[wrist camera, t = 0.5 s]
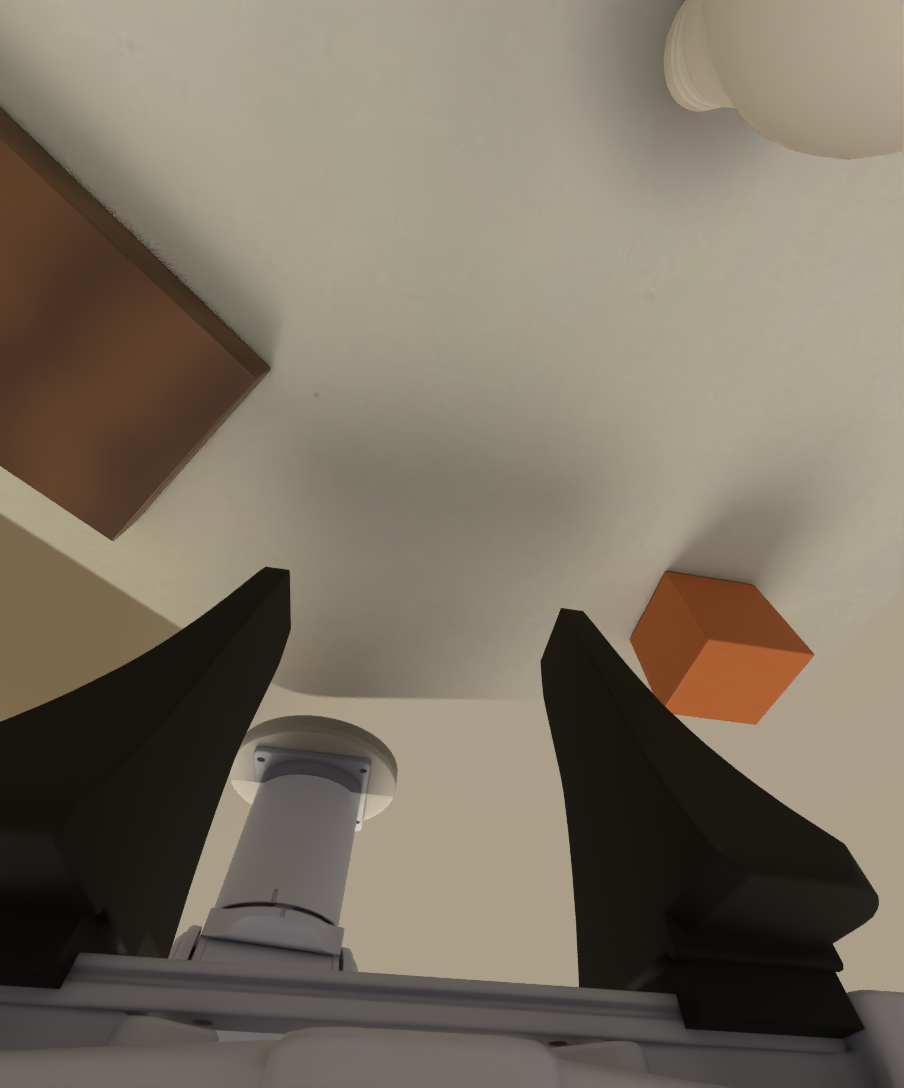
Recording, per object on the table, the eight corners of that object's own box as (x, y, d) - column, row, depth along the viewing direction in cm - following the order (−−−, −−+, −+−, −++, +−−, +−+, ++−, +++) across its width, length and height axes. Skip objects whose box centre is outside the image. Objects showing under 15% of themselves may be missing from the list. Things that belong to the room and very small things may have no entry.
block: (710, 651, 25) (756, 725, 21) (629, 640, 24) (661, 713, 20) (754, 584, 22) (815, 654, 18) (665, 570, 22) (709, 639, 18)
